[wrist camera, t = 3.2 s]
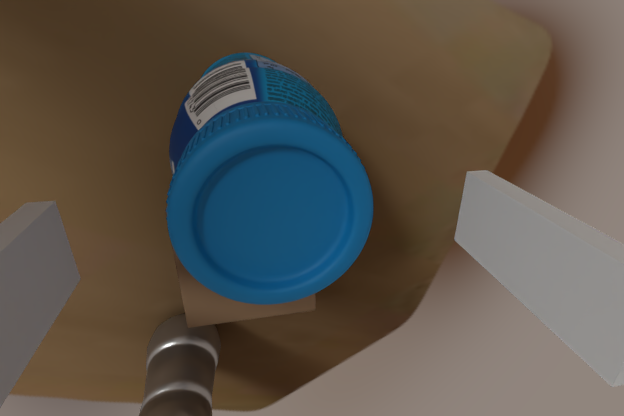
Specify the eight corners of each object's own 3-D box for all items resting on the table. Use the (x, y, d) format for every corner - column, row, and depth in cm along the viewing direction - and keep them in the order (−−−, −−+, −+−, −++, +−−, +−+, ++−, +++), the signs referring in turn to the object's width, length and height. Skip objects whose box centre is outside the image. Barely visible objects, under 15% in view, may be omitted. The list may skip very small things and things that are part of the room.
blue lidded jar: (311, 65, 29) (441, 120, 11) (288, 166, 32) (361, 334, 14) (199, 36, 27) (139, 49, 9) (186, 149, 30) (123, 323, 12)
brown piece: (178, 172, 30) (165, 210, 24) (299, 164, 32) (316, 198, 26) (195, 273, 35) (187, 327, 28) (300, 261, 37) (315, 310, 30)
